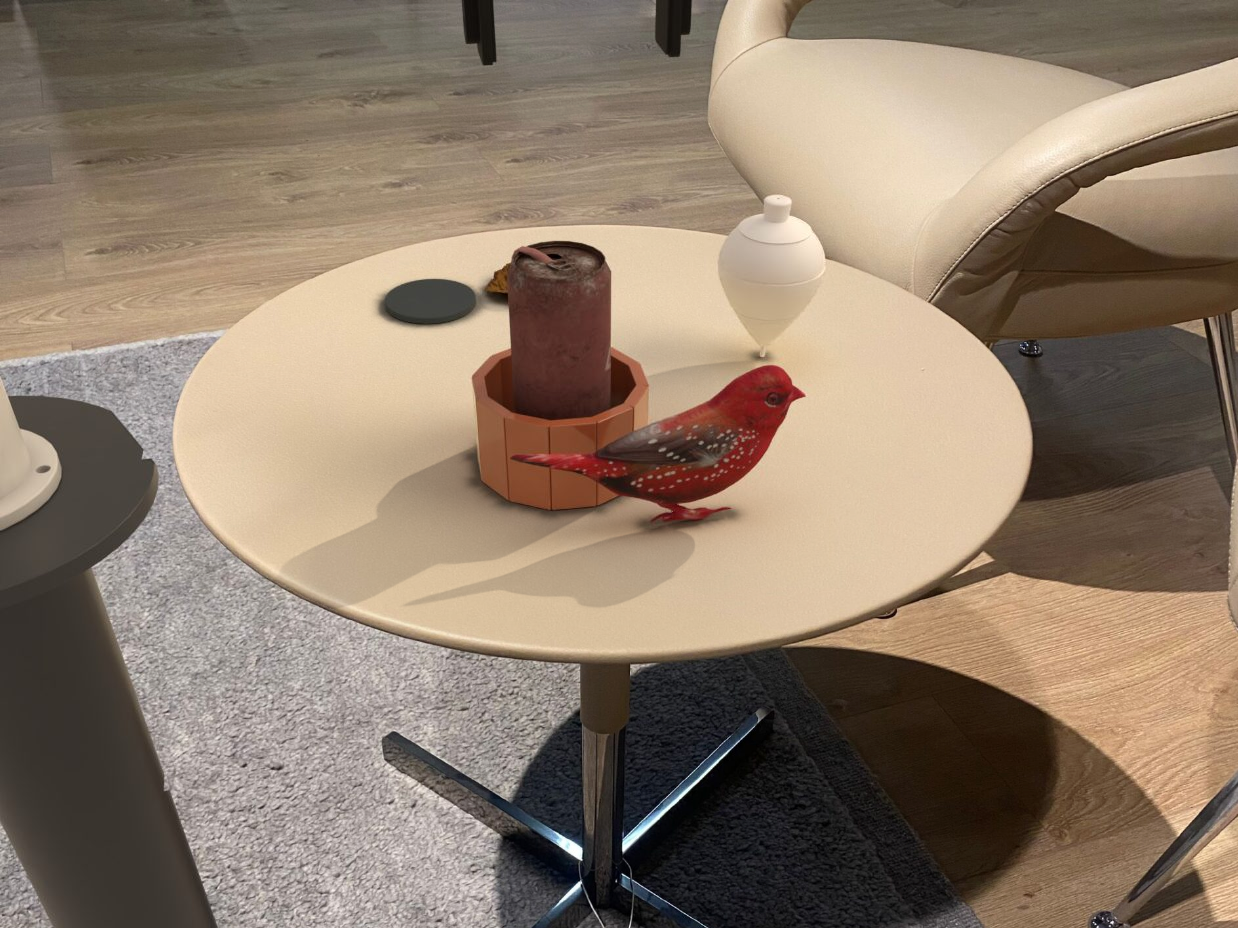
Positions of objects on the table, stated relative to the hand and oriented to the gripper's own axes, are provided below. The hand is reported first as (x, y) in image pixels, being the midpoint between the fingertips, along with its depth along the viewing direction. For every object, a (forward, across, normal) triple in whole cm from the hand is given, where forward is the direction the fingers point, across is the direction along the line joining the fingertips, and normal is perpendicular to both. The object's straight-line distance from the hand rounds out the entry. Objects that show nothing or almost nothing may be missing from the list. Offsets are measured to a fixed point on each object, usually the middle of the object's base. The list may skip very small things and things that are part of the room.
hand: (578, 54), depth 63 cm
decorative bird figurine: (+25, -3, +8) cm, 27 cm away
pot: (+25, +2, 0) cm, 25 cm away
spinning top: (+25, -16, -11) cm, 32 cm away
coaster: (+25, +8, -24) cm, 36 cm away
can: (+25, +2, 0) cm, 25 cm away
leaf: (+25, 0, -26) cm, 36 cm away
